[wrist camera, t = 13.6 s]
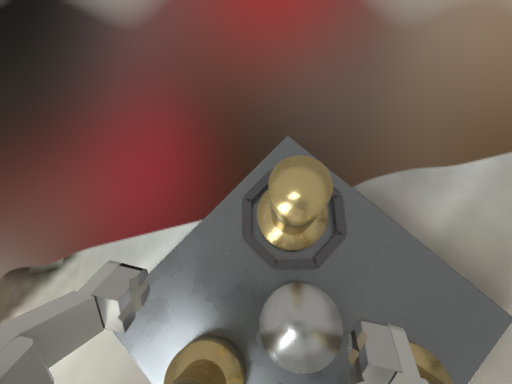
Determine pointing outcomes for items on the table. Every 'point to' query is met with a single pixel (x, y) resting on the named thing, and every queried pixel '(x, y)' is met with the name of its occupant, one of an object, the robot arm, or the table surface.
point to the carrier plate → (345, 277)
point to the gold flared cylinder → (295, 203)
